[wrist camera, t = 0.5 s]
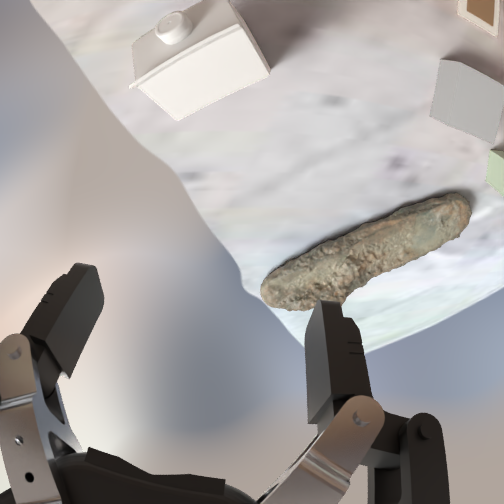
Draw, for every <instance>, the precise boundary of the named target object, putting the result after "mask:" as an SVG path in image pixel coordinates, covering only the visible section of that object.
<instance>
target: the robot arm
mask: <svg viewBox="0 0 504 504" xmlns="http://www.w3.org/2000/svg"><path fill="white" fill-rule="evenodd" d="M103 305H104V294H103V290H102V287H101V283H100V279H99V275H98V272H97V269H96V267H95V266H93V265H88V264H82V263H75V264H74V265H73V267H72V268H71V269H70V271H69V272H68V274H63V275H62V276H60V277H59V278H58V279H57V280H56V281H54V282H53V283H52V285H51V286H50V288H49V289H48V291H47V293H46V294H45V295H44V296H43V298H42V300H41V302H40V303H39V304H38V306H37V307H36V309H35V310H34V312H33V313H32V315H31V317H30V318H29V320H28V321H27V323H26V325H25V326H24V328H23V330H22V331H21V333H20V334H12V335H9V336H7V337H6V338H5V339H4V340H3V341H2V342H1V343H0V447H1V451H2V455H3V460H4V464H5V468H6V471H7V475H8V479H9V482H10V486H11V488H9V489H8V490H6V491H4V492H3V493H1V494H0V504H338V502H339V501H340V500H341V498H342V497H343V496H344V494H345V493H346V491H347V490H348V488H349V485H350V481H349V480H350V478H351V476H352V474H353V473H354V471H355V470H356V468H357V467H358V466H359V464H361V465H365V466H368V504H450V496H449V482H448V471H447V462H446V454H445V447H444V440H443V433H442V428H441V425H440V423H439V421H438V420H437V419H436V418H435V417H434V416H432V415H431V414H428V413H419V414H416V415H414V416H413V417H412V418H411V419H409V418H405V417H401V416H398V415H394V414H390V413H388V412H386V411H384V410H383V409H382V407H381V405H380V404H379V403H378V402H377V401H376V400H374V399H373V396H372V392H371V387H370V381H369V376H368V370H367V365H366V360H365V356H364V349H363V345H362V339H361V335H360V330H359V328H358V327H357V325H356V324H355V322H354V321H353V319H352V318H347V317H343V313H342V308H341V304H340V302H337V301H327V300H318V301H317V302H316V305H315V307H314V310H313V313H312V315H311V318H310V320H309V323H308V325H307V328H306V333H305V358H306V359H305V360H306V379H307V380H306V381H307V406H308V424H318V434H317V435H316V436H315V437H314V438H313V440H312V441H311V442H310V443H309V444H308V446H307V447H306V448H305V449H304V450H303V452H302V453H301V454H300V455H299V456H298V458H296V460H295V461H294V462H293V463H292V464H291V465H290V466H289V467H288V469H287V470H286V471H285V472H284V473H283V474H282V475H281V476H280V477H279V478H278V479H277V480H276V481H275V482H274V483H273V484H272V485H271V486H270V487H269V488H268V489H267V490H266V491H265V492H264V493H263V494H262V495H261V496H260V497H259V498H258V499H257V500H256V501H255V500H254V499H252V498H251V497H250V496H248V495H247V494H245V493H244V492H242V491H240V490H239V489H236V488H234V487H232V486H229V485H227V484H225V479H218V478H211V477H204V476H197V475H192V474H181V475H152V474H149V473H147V472H145V471H143V470H141V469H139V468H137V467H136V466H134V465H132V464H130V463H128V462H127V461H125V460H123V459H121V458H120V457H117V456H114V455H110V454H108V453H105V452H102V451H99V450H96V449H93V448H90V447H89V448H88V451H87V452H83V451H82V449H81V446H80V444H79V442H78V440H77V438H76V436H75V435H74V433H73V432H72V430H71V427H70V425H69V422H68V419H67V415H66V412H65V408H64V404H63V401H62V397H61V393H60V389H59V385H58V383H57V380H58V378H59V376H62V377H65V378H68V379H70V377H71V375H72V373H73V370H74V368H75V366H76V364H77V361H78V359H79V357H80V354H81V353H82V350H83V348H84V346H85V344H86V342H87V340H88V338H89V336H90V334H91V332H92V329H93V327H94V325H95V323H96V321H97V319H98V317H99V315H100V313H101V312H102V309H103Z"/></svg>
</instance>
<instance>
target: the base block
mask: <svg viewBox="0 0 504 504" xmlns="http://www.w3.org/2000/svg"><path fill="white" fill-rule="evenodd" d="M503 106H504V85H502V84H500V83H499V82H497V81H495V80H493V79H492V78H490V77H488V76H486V75H484V74H483V73H481V72H479V71H477V70H475V69H473V68H471V67H469V66H467V65H465V64H463V63H461V62H457V61H449V60H441V59H440V64H439V70H438V76H437V82H436V87H435V92H434V97H433V102H432V107H431V111H430V117H432V118H434V119H436V120H438V121H440V122H442V123H444V124H446V125H448V126H450V127H453V128H455V129H458V130H461V131H463V132H466V133H468V134H471V135H473V136H475V137H478V138H480V139H482V140H485V141H487V142H489V143H491V144H494V142H495V138H496V135H497V131H498V127H499V123H500V119H501V115H502V110H503Z"/></svg>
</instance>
